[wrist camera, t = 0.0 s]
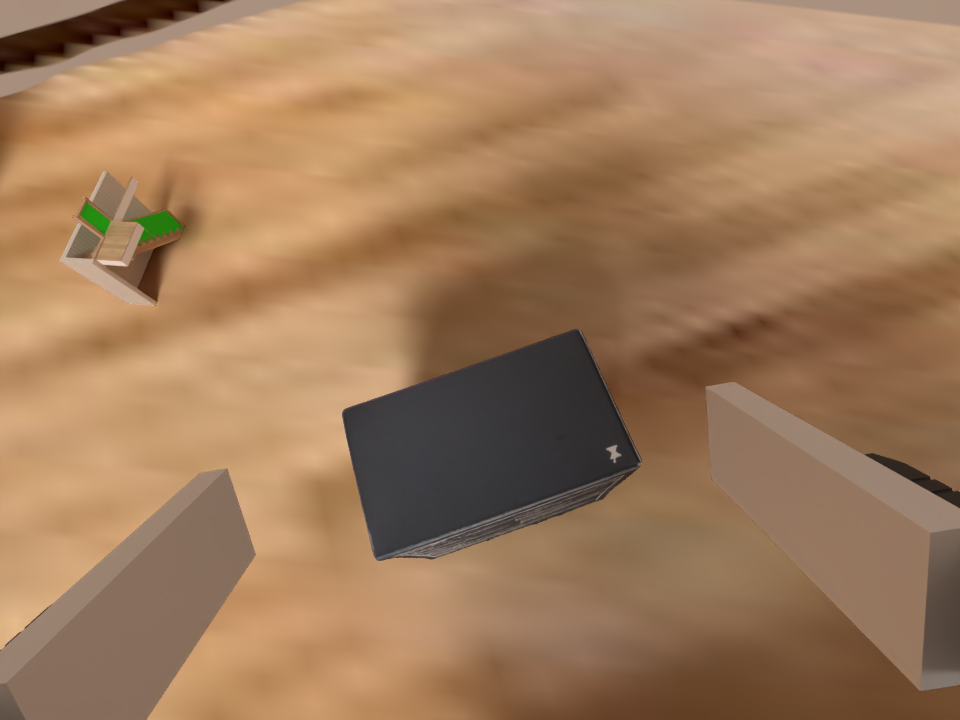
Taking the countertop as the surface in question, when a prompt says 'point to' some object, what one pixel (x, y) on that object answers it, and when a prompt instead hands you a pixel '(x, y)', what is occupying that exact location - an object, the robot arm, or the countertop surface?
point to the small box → (487, 449)
